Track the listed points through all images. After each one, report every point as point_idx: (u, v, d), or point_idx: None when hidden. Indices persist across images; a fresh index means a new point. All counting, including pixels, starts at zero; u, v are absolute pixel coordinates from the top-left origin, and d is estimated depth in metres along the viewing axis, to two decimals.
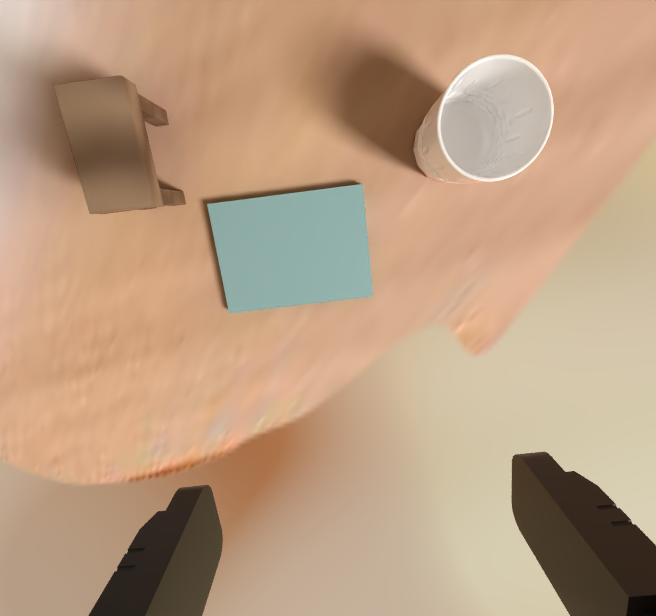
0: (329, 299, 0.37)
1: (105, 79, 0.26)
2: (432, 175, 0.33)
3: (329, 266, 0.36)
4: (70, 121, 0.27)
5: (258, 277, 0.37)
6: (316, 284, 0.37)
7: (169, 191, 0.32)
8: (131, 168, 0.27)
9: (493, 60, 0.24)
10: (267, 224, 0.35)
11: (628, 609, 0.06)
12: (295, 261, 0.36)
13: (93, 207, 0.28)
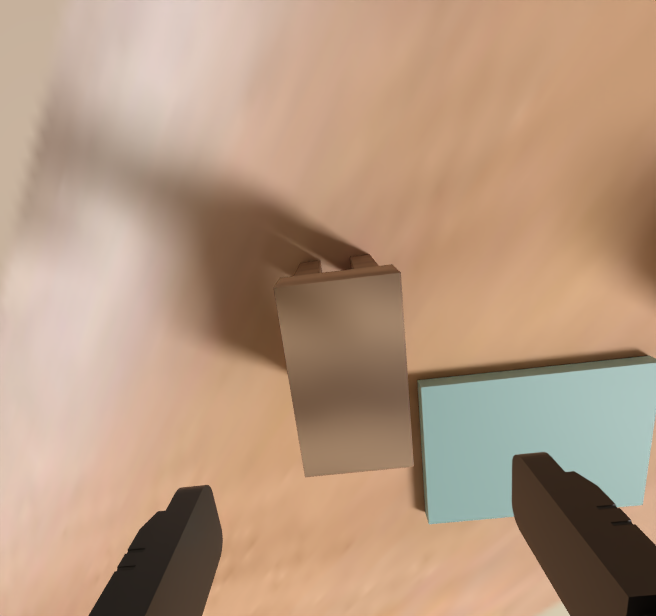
0: None
1: (370, 278, 0.14)
2: None
3: (587, 467, 0.25)
4: (295, 344, 0.15)
5: (480, 481, 0.25)
6: None
7: None
8: (389, 413, 0.16)
9: None
10: (506, 414, 0.24)
11: (628, 609, 0.06)
12: None
13: (312, 468, 0.17)
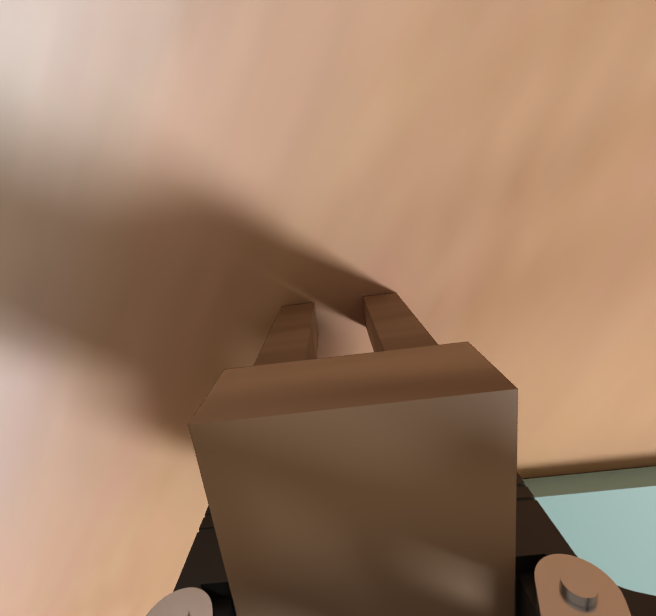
0: None
1: (438, 403, 0.05)
2: None
3: None
4: (249, 547, 0.06)
5: None
6: None
7: None
8: None
9: None
10: (612, 542, 0.15)
11: None
12: None
13: None
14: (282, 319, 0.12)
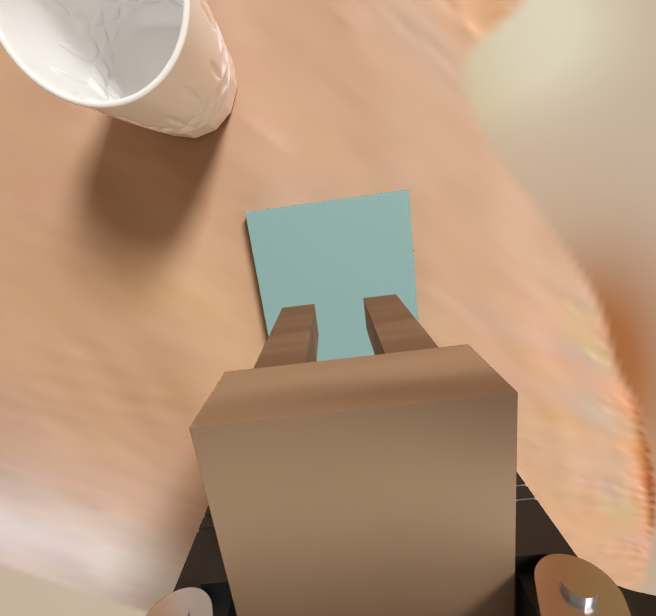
0: (410, 257, 0.25)
1: (438, 407, 0.05)
2: (222, 104, 0.22)
3: (361, 257, 0.25)
4: (250, 550, 0.06)
5: None
6: (386, 275, 0.25)
7: None
8: None
9: None
10: None
11: None
12: (353, 304, 0.26)
13: None
14: (282, 321, 0.12)
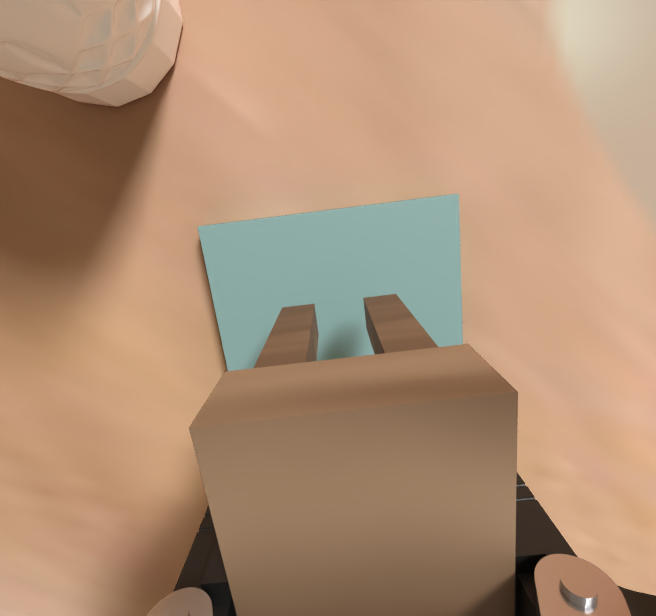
0: (456, 298, 0.16)
1: (438, 406, 0.05)
2: (150, 44, 0.13)
3: None
4: (250, 550, 0.06)
5: None
6: None
7: None
8: None
9: None
10: None
11: None
12: None
13: None
14: (282, 320, 0.12)
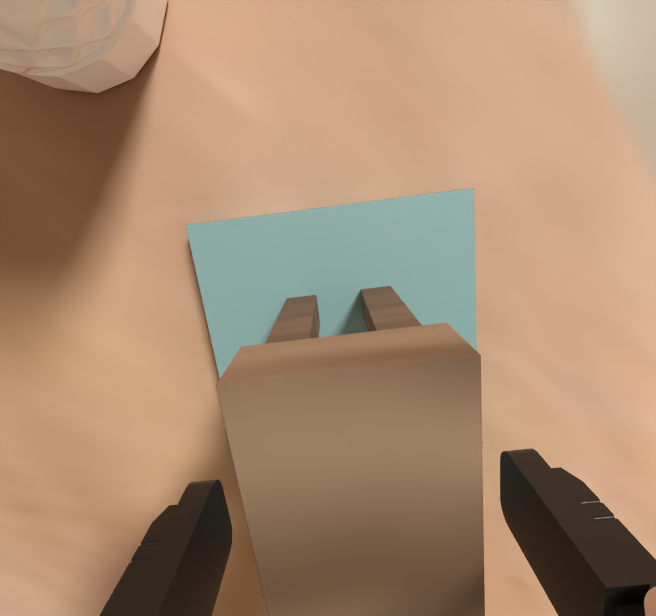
0: (470, 303, 0.15)
1: (416, 367, 0.07)
2: (128, 20, 0.11)
3: None
4: (264, 489, 0.08)
5: None
6: None
7: None
8: (445, 606, 0.08)
9: None
10: None
11: (606, 600, 0.06)
12: None
13: None
14: (287, 309, 0.13)
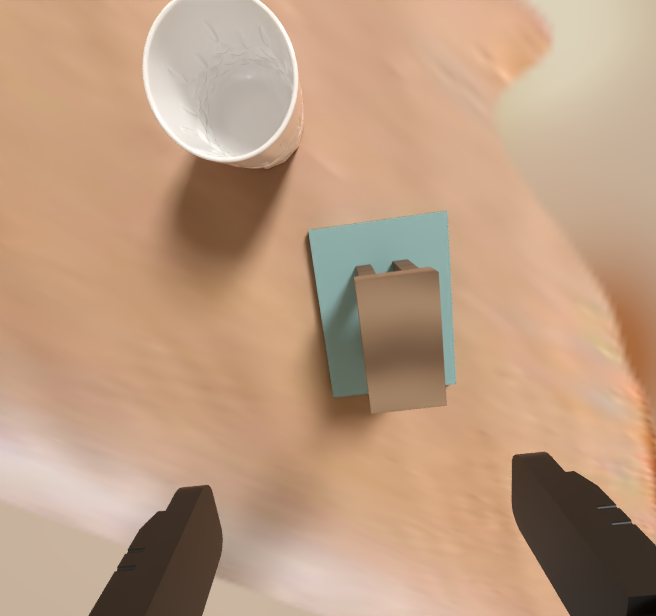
0: (447, 267, 0.29)
1: (418, 276, 0.22)
2: (295, 144, 0.26)
3: None
4: (368, 320, 0.22)
5: None
6: None
7: None
8: (430, 367, 0.23)
9: (152, 91, 0.19)
10: (355, 338, 0.31)
11: (628, 609, 0.06)
12: None
13: (376, 407, 0.24)
14: (360, 269, 0.28)
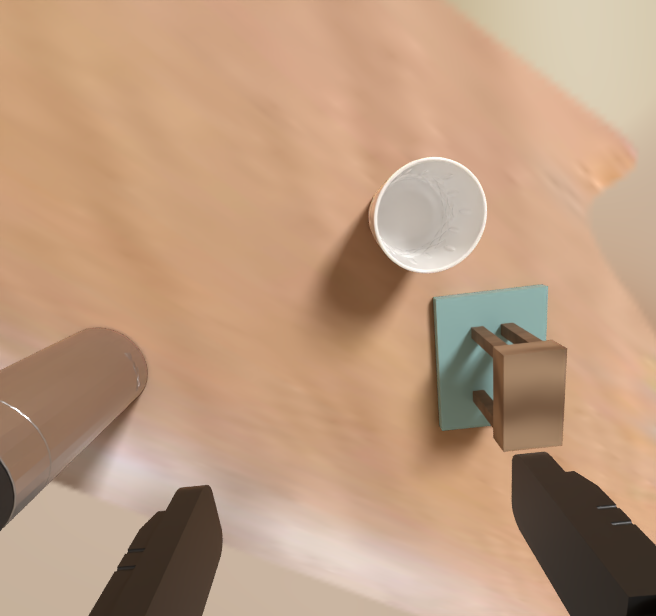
0: (544, 329, 0.37)
1: (551, 351, 0.29)
2: None
3: None
4: (510, 382, 0.30)
5: None
6: None
7: None
8: (552, 417, 0.30)
9: (377, 223, 0.26)
10: (464, 383, 0.38)
11: (628, 609, 0.06)
12: None
13: (508, 446, 0.31)
14: (480, 332, 0.35)
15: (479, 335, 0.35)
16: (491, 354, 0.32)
